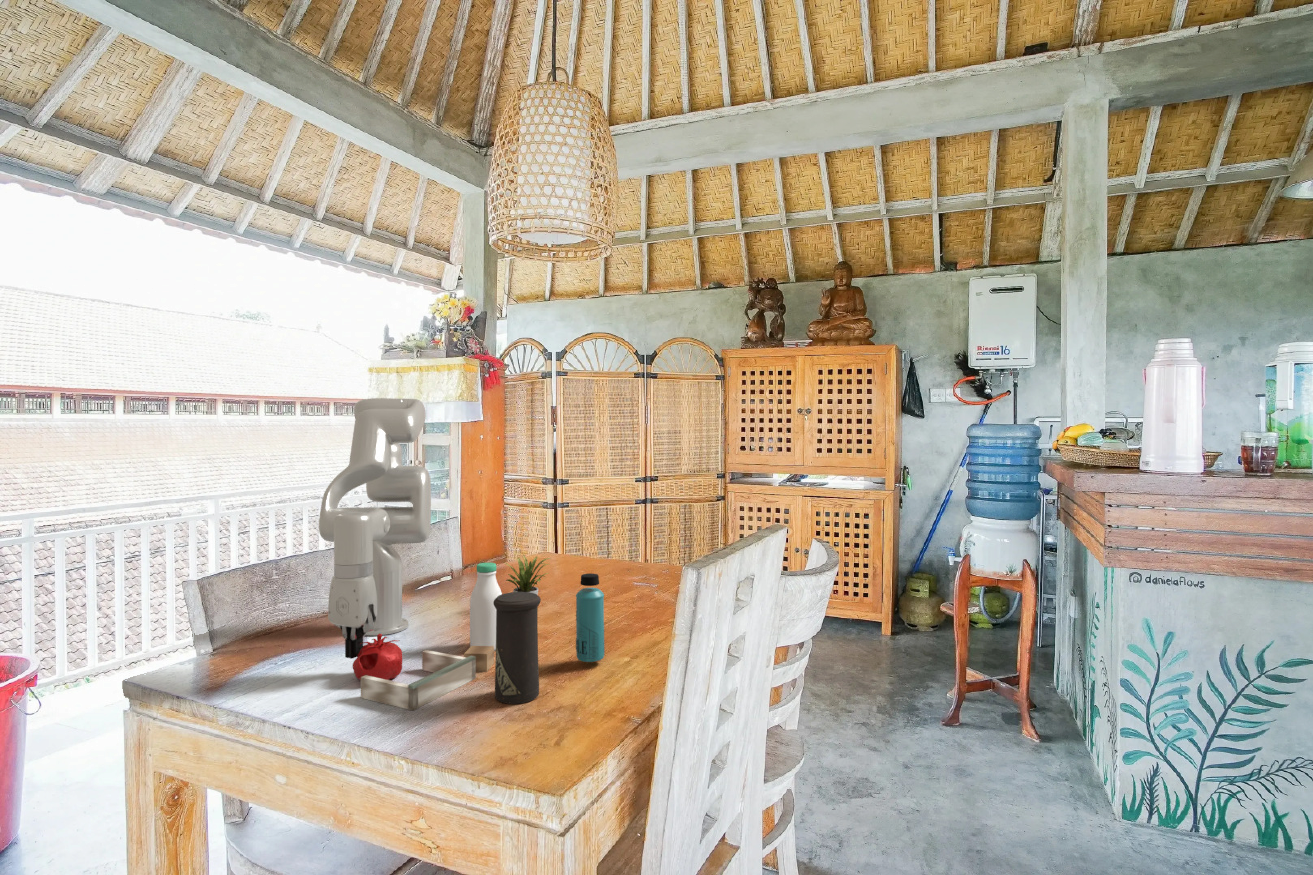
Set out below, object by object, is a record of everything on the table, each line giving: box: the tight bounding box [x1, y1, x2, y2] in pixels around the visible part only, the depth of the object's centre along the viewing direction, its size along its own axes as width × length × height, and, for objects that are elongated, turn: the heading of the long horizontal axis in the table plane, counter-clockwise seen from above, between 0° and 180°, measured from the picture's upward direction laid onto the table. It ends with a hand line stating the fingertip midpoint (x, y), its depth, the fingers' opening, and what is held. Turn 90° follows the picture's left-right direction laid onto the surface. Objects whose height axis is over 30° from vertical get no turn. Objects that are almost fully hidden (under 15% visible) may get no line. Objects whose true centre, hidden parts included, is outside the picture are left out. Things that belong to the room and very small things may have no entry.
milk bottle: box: [469, 562, 503, 652], centre depth 156 cm, size 8×8×20 cm
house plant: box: [503, 553, 551, 596], centre depth 187 cm, size 14×14×16 cm
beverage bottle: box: [575, 572, 606, 663], centre depth 145 cm, size 6×7×20 cm
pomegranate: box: [352, 634, 403, 681], centre depth 137 cm, size 10×10×9 cm
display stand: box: [360, 649, 477, 711], centre depth 132 cm, size 14×17×5 cm
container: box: [493, 591, 541, 705], centre depth 128 cm, size 9×9×20 cm
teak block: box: [463, 646, 495, 673], centre depth 143 cm, size 5×5×4 cm
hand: (354, 655), depth 140 cm, fingers closed
